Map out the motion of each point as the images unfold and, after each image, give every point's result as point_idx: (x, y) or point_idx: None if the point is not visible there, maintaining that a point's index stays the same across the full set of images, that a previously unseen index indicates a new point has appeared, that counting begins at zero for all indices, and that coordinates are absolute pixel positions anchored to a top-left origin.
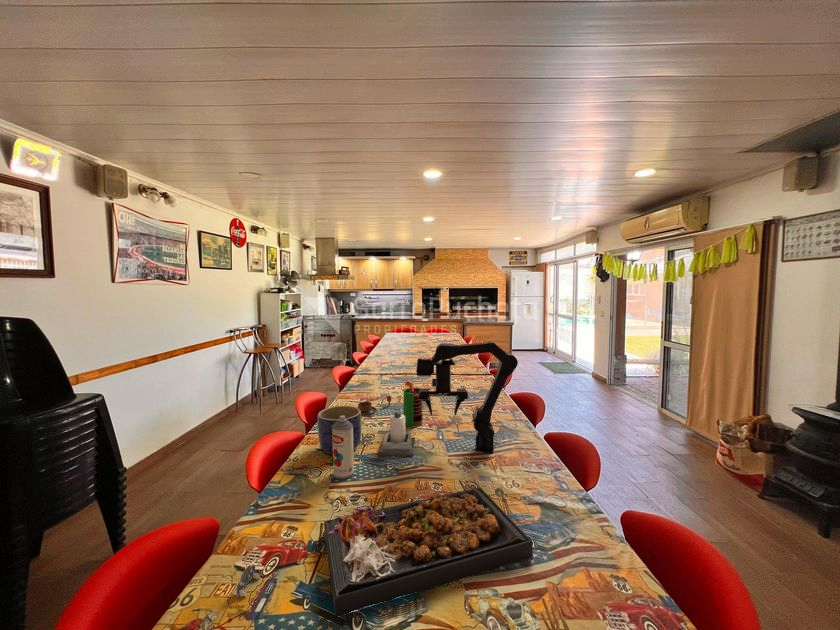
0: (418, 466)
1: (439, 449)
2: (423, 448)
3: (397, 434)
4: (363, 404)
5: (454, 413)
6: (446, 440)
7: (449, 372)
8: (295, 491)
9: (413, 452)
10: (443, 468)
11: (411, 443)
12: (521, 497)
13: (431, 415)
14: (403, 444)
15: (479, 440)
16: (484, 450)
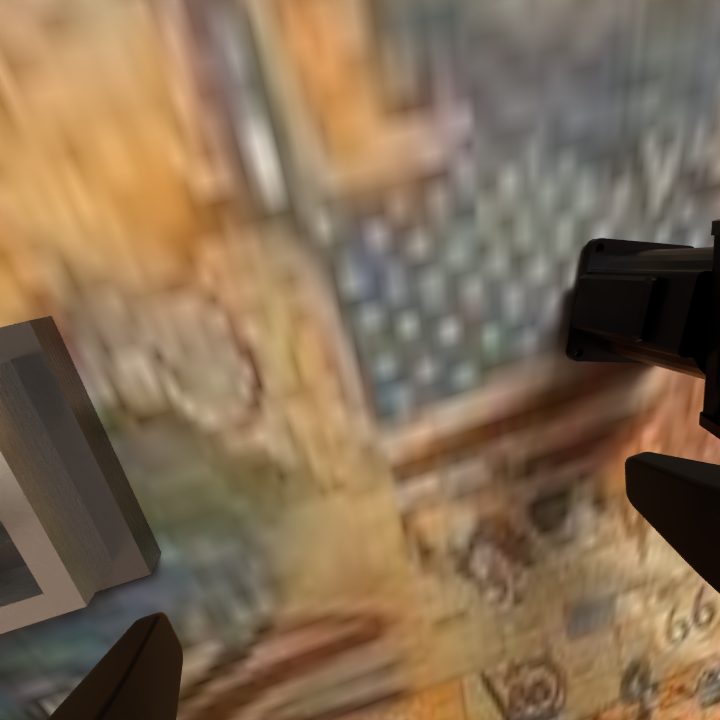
0: (248, 648)
1: (315, 407)
2: (189, 428)
3: None
4: None
5: (655, 494)
6: (333, 228)
7: None
8: None
9: (150, 559)
10: (392, 615)
11: (63, 453)
12: (702, 680)
13: (171, 659)
14: (27, 621)
15: (643, 350)
16: (621, 360)
